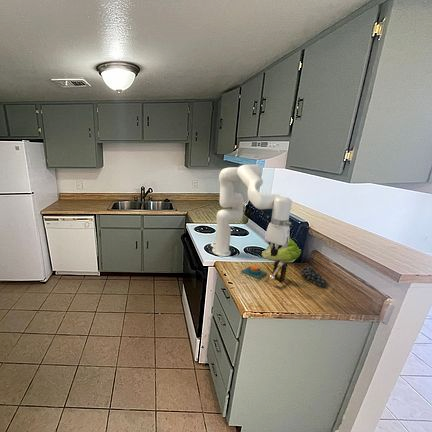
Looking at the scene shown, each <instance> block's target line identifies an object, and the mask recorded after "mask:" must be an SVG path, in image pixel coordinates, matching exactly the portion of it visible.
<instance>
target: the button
mask: <svg viewBox="0 0 432 432" xmlns="http://www.w3.org/2000/svg"><path fill="white" fill-rule="evenodd" d="M250 266H251V270H253V271H258V268H259V266H257V265H253V264H252V265H250Z"/></svg>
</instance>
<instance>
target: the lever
mask: <svg viewBox="0 0 432 432" xmlns="http://www.w3.org/2000/svg"><path fill="white" fill-rule="evenodd" d="M284 263H285V262H279V263H278V265H277V269H276V270H275V272H274V273H273V272H272V274H269V275H268V280H269V281H271V282H274V281H275V280H276V278H275V275H276V274H277V272H278V273H279V271H281V270H282V265H283V264H284ZM277 275H278V274H277Z"/></svg>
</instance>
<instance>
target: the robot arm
mask: <svg viewBox="0 0 432 432" xmlns="http://www.w3.org/2000/svg"><path fill="white" fill-rule="evenodd" d="M262 175H263V168H262V167H261V166H260V165H259V164H252V163H251V164H242V165H239V166H238V167H237V166H236V167H235V166H233V167H232V166H231V167H225V168H222V170H220V172H219V175H218V182H219V206H221V208H225V209H220V210H218V211H217V212H216V231H215V232H216V233H215V241H214V243H213V242H212V243H211V244H210V247H211V248H212V249H211V252H212V254H214V255H216V256H219V257H229V256H231V254H232V252H231V250H230V243H231V236H232V235H231V234H232V228H231V226H230V224H234V223H239V222H241V221H242V220H243V215H244V201H245V200H244V197H243V195H242V194H241V193H239V192H234V189H235V188H234V184H233V183H232V182H236V181H237V182H240V181H241V182H243V184H244V185H245V186H246V187H247V198H248V200H249V202H250V203H251V204H252V205H253V206H254V207H255V208H256V209H258V210H272V212H271V219H270V222H269V223H268V225H267V228H266V230H265V235H264V243H266V244H268V246H269V245H270V248H271V252H270V253H271V256H276V255H277V254H278V249H279V248H287V244H288V243H289V238H290V231H291V228H290V226H291V225H292V222H291V221H290V214H291V209H292V203H293V200H292V199H291V198H289V197H285V196H281V195H280V194H277V193H270V194H268V193H267V194H261V193H260V192H259V189H260V188H261V187H262V185H263V184H264V180H263V178H262ZM275 244H276V247H275Z"/></svg>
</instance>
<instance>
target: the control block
mask: <svg viewBox="0 0 432 432" xmlns="http://www.w3.org/2000/svg"><path fill="white" fill-rule="evenodd" d="M251 266H252V265H250V266H247V267H246V268H244V269H242V270H241V272H240V273H241V274H244V275H246V276H249V277H251V278H253V279H256V280H259V279H261V278H262V277H264V276H266V275H267V272H266V271H265V270H262V269H261V268H260V267H258V271H253V270H251Z"/></svg>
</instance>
